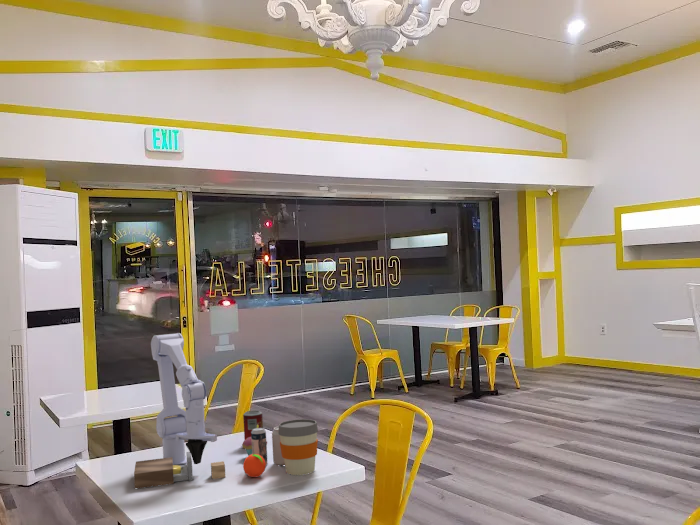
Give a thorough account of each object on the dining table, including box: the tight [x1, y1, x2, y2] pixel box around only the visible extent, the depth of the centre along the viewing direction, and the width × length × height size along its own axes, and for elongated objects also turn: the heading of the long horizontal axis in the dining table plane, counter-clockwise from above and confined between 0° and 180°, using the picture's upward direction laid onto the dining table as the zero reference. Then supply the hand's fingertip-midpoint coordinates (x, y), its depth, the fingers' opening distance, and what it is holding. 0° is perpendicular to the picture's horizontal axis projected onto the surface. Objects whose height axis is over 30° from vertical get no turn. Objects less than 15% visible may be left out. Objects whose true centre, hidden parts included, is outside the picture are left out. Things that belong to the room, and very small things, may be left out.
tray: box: [173, 451, 194, 483], centre depth 210 cm, size 14×12×6 cm
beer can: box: [251, 427, 268, 466], centre depth 217 cm, size 5×5×12 cm
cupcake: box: [241, 425, 268, 457], centre depth 229 cm, size 9×8×12 cm
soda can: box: [242, 410, 264, 441], centre depth 247 cm, size 7×7×12 cm
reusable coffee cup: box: [278, 418, 319, 476], centre depth 209 cm, size 12×13×15 cm
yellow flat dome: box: [173, 464, 182, 475], centre depth 210 cm, size 6×6×2 cm
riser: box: [210, 460, 226, 480], centre depth 208 cm, size 4×4×4 cm
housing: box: [133, 457, 175, 489], centre depth 208 cm, size 15×11×4 cm
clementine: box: [242, 454, 267, 478], centre depth 205 cm, size 8×7×7 cm
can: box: [271, 425, 285, 467], centre depth 219 cm, size 8×8×12 cm
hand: (197, 463), depth 212 cm, fingers closed
